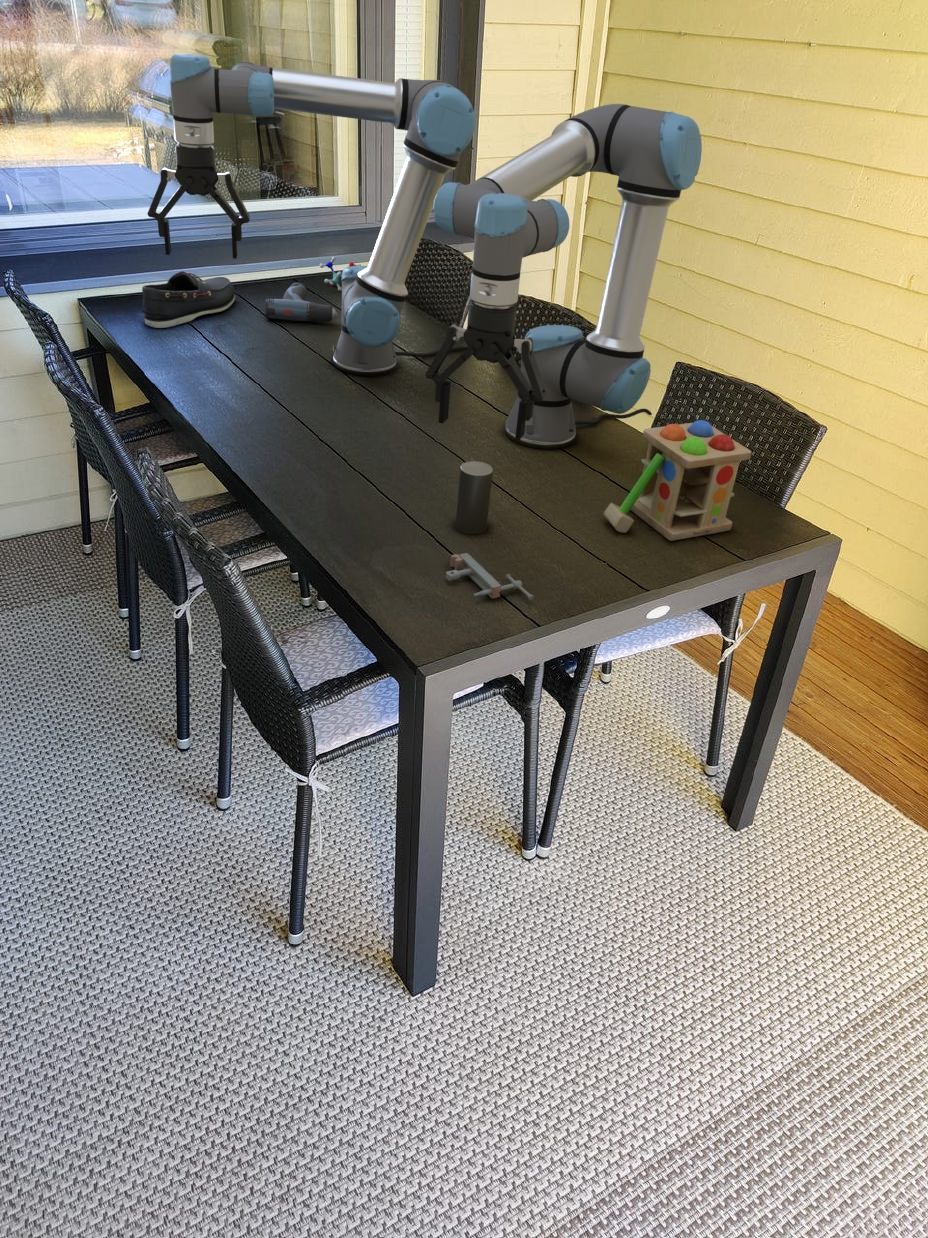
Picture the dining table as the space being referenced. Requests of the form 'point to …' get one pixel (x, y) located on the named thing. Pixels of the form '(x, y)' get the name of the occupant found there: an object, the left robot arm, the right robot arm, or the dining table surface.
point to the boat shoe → (185, 299)
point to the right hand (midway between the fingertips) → (481, 428)
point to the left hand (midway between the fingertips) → (201, 255)
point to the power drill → (298, 307)
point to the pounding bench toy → (683, 482)
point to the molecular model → (335, 275)
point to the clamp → (480, 576)
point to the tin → (473, 497)
